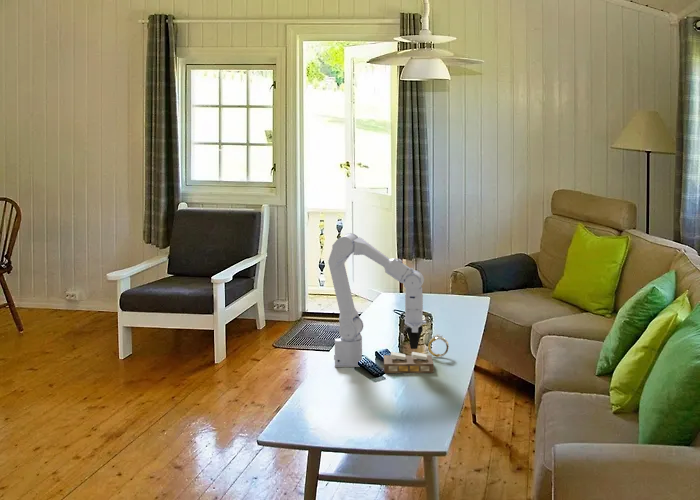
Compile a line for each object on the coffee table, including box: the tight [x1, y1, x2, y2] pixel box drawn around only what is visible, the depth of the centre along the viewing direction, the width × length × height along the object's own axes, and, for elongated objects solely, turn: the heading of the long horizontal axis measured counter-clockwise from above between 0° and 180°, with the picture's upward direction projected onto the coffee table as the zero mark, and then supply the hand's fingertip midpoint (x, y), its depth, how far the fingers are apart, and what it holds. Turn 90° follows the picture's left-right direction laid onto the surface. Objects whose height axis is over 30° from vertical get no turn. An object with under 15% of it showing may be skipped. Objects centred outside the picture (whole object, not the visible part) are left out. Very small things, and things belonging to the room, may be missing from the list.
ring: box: [427, 334, 450, 358], centre depth 291 cm, size 7×3×8 cm, turn 74°
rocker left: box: [390, 351, 406, 360], centre depth 278 cm, size 5×4×1 cm
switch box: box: [383, 354, 434, 374], centre depth 279 cm, size 16×10×4 cm, turn 89°
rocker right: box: [411, 351, 428, 360], centre depth 278 cm, size 5×4×1 cm
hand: (413, 348), depth 278 cm, fingers closed
